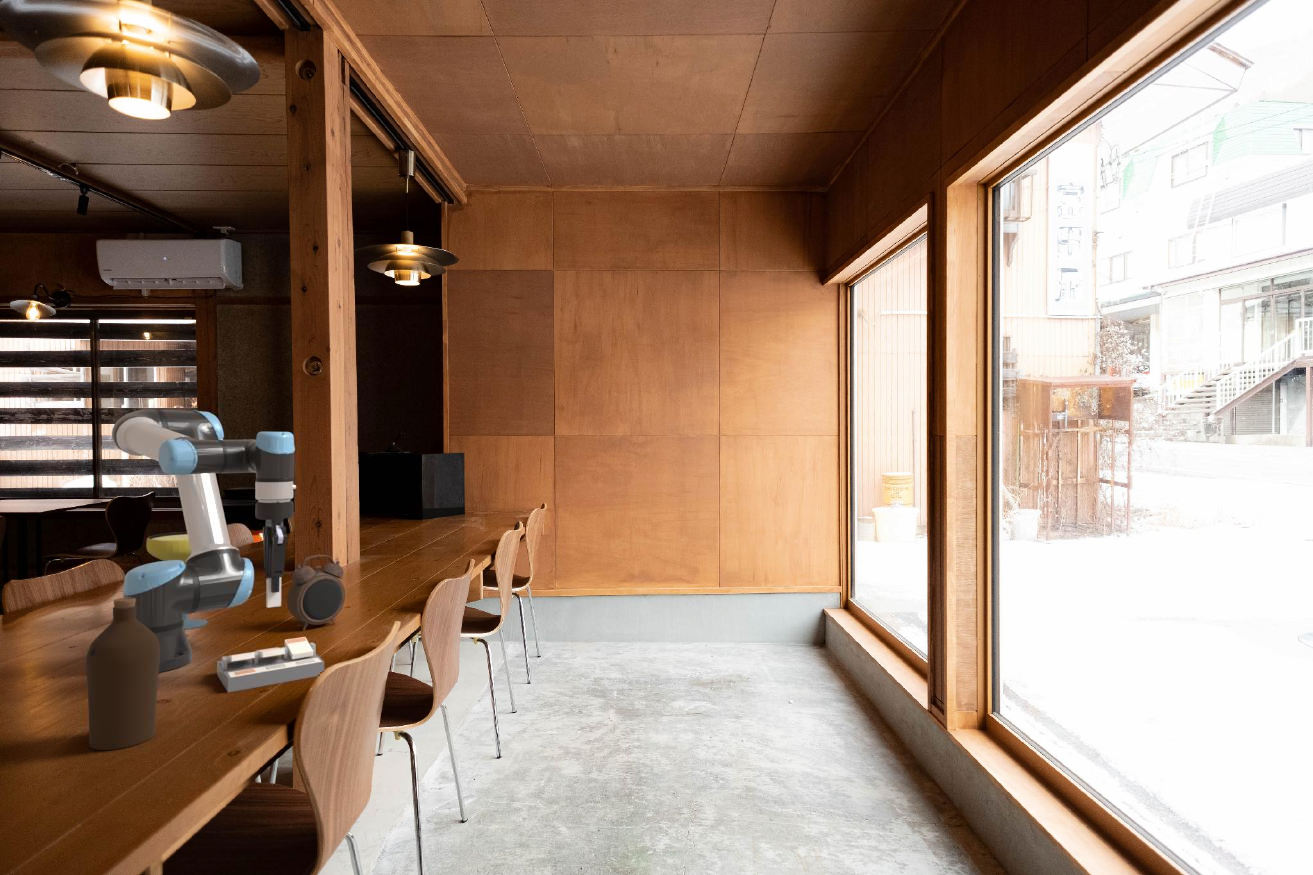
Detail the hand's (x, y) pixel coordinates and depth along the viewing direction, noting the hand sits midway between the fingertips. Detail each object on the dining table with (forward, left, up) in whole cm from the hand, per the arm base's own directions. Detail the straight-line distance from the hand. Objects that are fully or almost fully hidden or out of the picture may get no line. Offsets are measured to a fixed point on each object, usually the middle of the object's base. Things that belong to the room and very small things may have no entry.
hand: (273, 606), depth 162 cm
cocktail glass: (-10, +60, -16) cm, 63 cm away
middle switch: (0, +3, -11) cm, 12 cm away
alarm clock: (+19, +38, -16) cm, 46 cm away
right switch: (+6, +3, -11) cm, 13 cm away
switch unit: (0, +2, -16) cm, 16 cm away
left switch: (-6, +3, -11) cm, 13 cm away
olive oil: (-28, -20, -16) cm, 38 cm away
